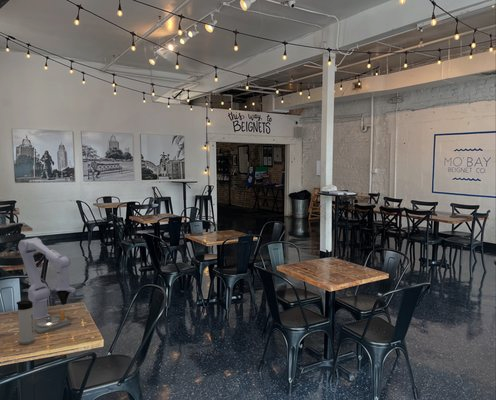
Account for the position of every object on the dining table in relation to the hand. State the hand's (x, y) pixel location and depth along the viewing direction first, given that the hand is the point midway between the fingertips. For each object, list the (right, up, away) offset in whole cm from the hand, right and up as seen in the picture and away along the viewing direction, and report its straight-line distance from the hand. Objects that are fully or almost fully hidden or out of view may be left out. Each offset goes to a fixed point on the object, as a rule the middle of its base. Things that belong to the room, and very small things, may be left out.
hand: (63, 304), depth 211 cm
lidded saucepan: (-4, -8, -5) cm, 11 cm away
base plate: (-5, -10, -6) cm, 12 cm away
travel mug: (-6, -12, -25) cm, 28 cm away
